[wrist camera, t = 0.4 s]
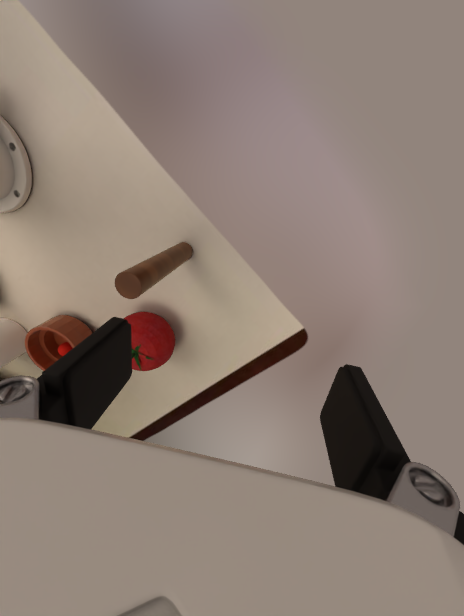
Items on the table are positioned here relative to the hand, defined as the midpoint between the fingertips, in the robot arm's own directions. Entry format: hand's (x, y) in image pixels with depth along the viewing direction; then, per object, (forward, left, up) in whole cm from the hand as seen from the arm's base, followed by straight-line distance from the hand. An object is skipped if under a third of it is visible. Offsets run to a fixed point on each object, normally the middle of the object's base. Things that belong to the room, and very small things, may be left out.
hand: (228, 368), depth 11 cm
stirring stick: (+2, -10, -25) cm, 27 cm away
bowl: (+22, -26, -25) cm, 42 cm away
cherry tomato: (+24, -26, -23) cm, 42 cm away
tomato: (+16, -12, -25) cm, 32 cm away
